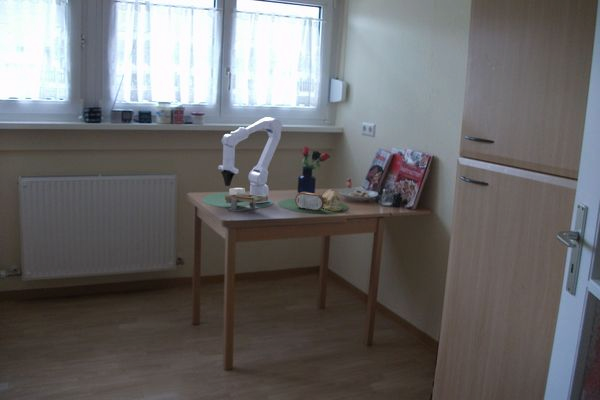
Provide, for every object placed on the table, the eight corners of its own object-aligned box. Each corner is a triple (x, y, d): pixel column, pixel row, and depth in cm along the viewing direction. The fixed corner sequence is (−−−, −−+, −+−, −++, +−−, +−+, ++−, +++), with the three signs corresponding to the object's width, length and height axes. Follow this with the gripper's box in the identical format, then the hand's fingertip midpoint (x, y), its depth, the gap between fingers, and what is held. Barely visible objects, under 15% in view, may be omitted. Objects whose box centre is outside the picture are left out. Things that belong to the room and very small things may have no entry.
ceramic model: (315, 205, 314) (316, 186, 312) (334, 205, 318) (336, 186, 316) (326, 211, 301) (328, 191, 299) (346, 211, 306) (348, 191, 304)
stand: (251, 206, 301) (251, 195, 299) (257, 208, 297) (258, 197, 296) (228, 209, 291) (228, 198, 290) (234, 211, 288) (235, 200, 286)
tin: (324, 210, 303) (325, 194, 301) (322, 211, 300) (323, 195, 298) (296, 206, 307) (297, 190, 306) (293, 208, 304) (294, 191, 303)
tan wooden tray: (240, 201, 303) (240, 192, 303) (268, 204, 287) (268, 194, 287) (224, 203, 297) (224, 194, 296) (252, 206, 280) (252, 196, 280)
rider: (237, 196, 301) (237, 187, 300) (245, 196, 296) (244, 188, 296) (229, 197, 297) (229, 188, 297) (236, 197, 293) (236, 189, 292)
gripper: (213, 156, 302) (212, 183, 304) (230, 161, 291) (229, 188, 294) (225, 156, 306) (224, 182, 309) (242, 160, 296) (241, 187, 299)
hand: (227, 185), depth 302 cm, fingers closed
